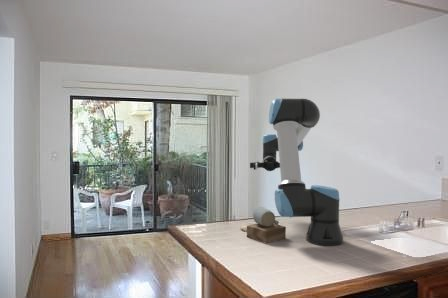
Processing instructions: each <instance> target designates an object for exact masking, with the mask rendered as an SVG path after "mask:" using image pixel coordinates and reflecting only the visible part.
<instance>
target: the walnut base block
mask: <svg viewBox="0 0 448 298" xmlns="http://www.w3.org/2000/svg"><path fill="white" fill-rule="evenodd" d="M246 226H247V231H246V237H247V238H249V239H253V240H255V241H259V242H262V243H264V242H265V244H268V242H269V243H272V241H273V242H276V241H280V240H283V239H284V240H285V239H286V237H287V236H286V235H287V231H286V230H287V227H286V226H284V225H280V224H278V225H276V224H273V225H272V226H270V227H264V226H262V225H260V224H258V223H254V224H249V225H248V224H247V225H246Z"/></svg>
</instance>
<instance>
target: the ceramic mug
mask: <svg viewBox="0 0 448 298" xmlns="http://www.w3.org/2000/svg"><path fill="white" fill-rule="evenodd" d="M252 218H253V221H254V222H255V224H260V225H262V226H264V227H270V226H272V225H273V224H276V225H279V220H277V219H276V215H275V213H274V212H272V211H271V210H269V209H267V208H266V207H264V206H258V207H257V208H255V210H254V211H253V215H252Z"/></svg>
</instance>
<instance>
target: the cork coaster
mask: <svg viewBox="0 0 448 298" xmlns="http://www.w3.org/2000/svg"><path fill="white" fill-rule="evenodd" d="M247 226H248V225H243V226H240V231H242V232H247Z"/></svg>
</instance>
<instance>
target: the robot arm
mask: <svg viewBox="0 0 448 298" xmlns="http://www.w3.org/2000/svg"><path fill="white" fill-rule="evenodd" d="M269 107H270V108H269V112H268V123H269V125H272V126H273V127H272V128H273V130H275V131H276V133H277V135H276V134H263V139H262V162H260V161H256V162H250V163H249V168H250V169H253V170H256V171H257V170H258V169H260V168H262V169H264V170H265V171H268V172H272V171H275V170H276V169H279V173H280V183H279V184H278V186H277V189H276V190H274V203H275V208H276V211H277V214H278V215H280V216H281V217H285V218H296V217H297V218H300V217H301V218H306V217H307V218H308V217H309V218H310V223H309V225H308V228H307V232H306V235H305V236H306V241H307V242H309V243H311V244H313V245H314V244H315V245H320V246H339V245H342V244H343V243H344V236H343V232H342V228H341V226H340V200H341V199H340V192H339V190H338V189H337V188H335V187H331V186H324V185H318V184H315V185H314V184H312V185H310V188H306V183H305V182H304V181H303V180H302V174H301V173H302V172H301V165H300V164H301V163H300V153H299V152H301V151H302V150H303V147H304V139H305V138H306V136H307V135H308V133H309V132H310V131H311V129H312V128H314V127H316V126H317V124H318V123H319V121H320V116H321V112H320V109H319V107H318V106H317V104H316V103H315V102H314V101H312V100H310V99H307V98H283V97H282V98H274V99H272V101H271V104H270V106H269ZM277 152H278V157H279V158H278V159H279V161H278V160H277Z"/></svg>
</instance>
